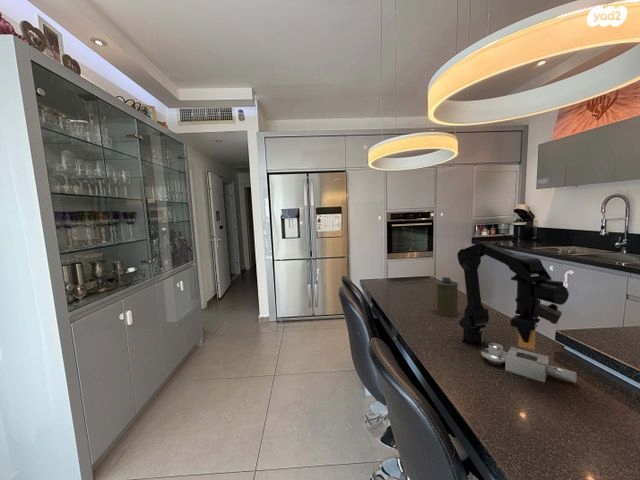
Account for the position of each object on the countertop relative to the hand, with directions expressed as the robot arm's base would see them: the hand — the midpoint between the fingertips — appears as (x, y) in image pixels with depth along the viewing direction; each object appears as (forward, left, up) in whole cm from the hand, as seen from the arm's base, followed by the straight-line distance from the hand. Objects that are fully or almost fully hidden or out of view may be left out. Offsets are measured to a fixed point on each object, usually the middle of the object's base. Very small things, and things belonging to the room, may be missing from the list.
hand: (526, 340), depth 90 cm
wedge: (0, 0, -2) cm, 2 cm away
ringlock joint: (0, 0, -10) cm, 10 cm away
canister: (-40, +39, -11) cm, 57 cm away
